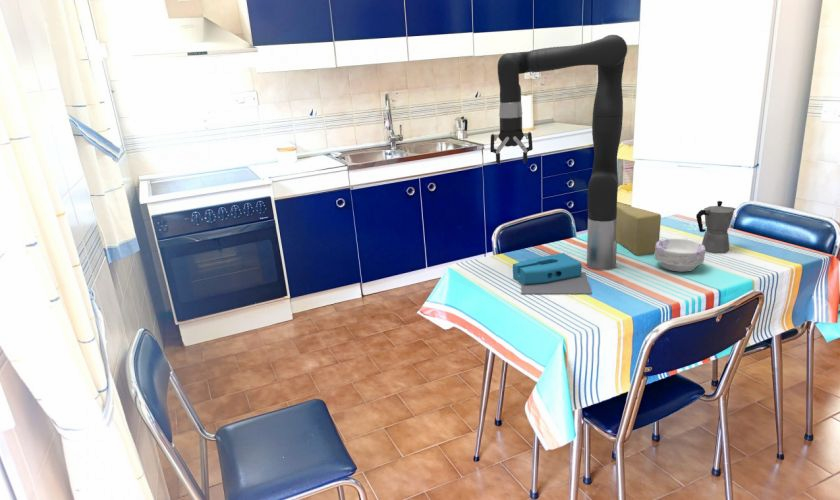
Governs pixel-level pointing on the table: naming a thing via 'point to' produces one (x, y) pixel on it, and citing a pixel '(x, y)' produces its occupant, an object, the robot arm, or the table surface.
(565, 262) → the block
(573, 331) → the table surface
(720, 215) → the coffeepot
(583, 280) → the mat
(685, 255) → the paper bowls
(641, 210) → the tan rectangular box
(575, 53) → the robot arm
